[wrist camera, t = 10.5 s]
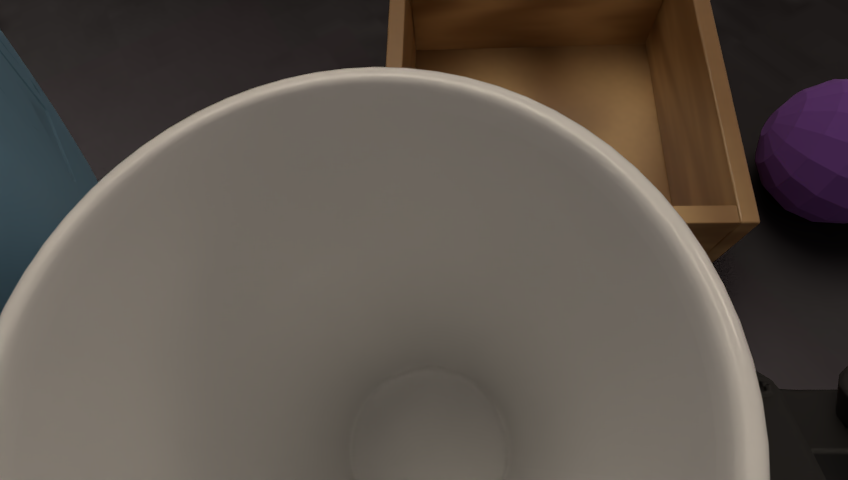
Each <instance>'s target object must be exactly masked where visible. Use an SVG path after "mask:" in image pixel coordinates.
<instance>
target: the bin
mask: <svg viewBox="0 0 848 480" xmlns="http://www.w3.org/2000/svg"><path fill="white" fill-rule="evenodd" d="M386 67H396V68H413V69H422V70H431V71H439V72H444V73H449V74H454V75H459V76H464V77H469V78H472V79H476V80H479V81H483V82H486V83H490V84H493V85H497V86H500V87H503V88H505V89H508V90H510V91H513V92H516V93H518V94H521V95H524V96H526V97H529V98H531V99H533V100H535V101H537V102H539V103H541V104H543V105H545V106H548V107H550V108H552V109H554V110H556V111H558V112H559V113H561V114H563V115H564V116H566V117H568V118H570V119H571V120H573V121H575V122H576V123H578V124H580V125H581V126H583V127H585V128H586V129H588V130H589V131H590V132H592V133H593V134H595V135H596V136H597V137H599V138H600V139H602V140H603V141H604V142H606V143H607V144H609V145H610V146H611V147H613V148H614V149H615V150H616V151H617V152H619V153H620V154H621V155H622V156H623V157H624V158H626V159H627V160H628V161H629V162H630V163H631V164H633V165H634V166H635V167H636V168H637V169H638V170H639V171H640V172H641V173H642V174H643V175H644V176H645V177H646V178H647V179H648V180H649V181H650V182H651V183H652V184H653V185H654V186H655V187H656V188H657V189H658V190H659V191H660V192H661V193H662V194H663V195H664V197H665V198H666V199H667V200H668V201H669V203H670V204H671V205H672V206H673V208H674V209H675V210H676V211H677V212H678V214H679V215H680V216H681V217H682V218H683V220H684V221H685V222H686V224H687V225H688V227H689V228H690V230H691V231H692V233H693V234H694V235H695V237H696V238H697V240H698V241H699V243H700V244H701V246H702V247H703V249H704V250H705V252H706V253H707V255H708V257H709V259H710V261H711V262H712V263H713V262H714V261H715V260H716V259H718V258H719V257H720V256H721V255H722V254H724V253H725V252H726V251H727V250H728V249H729V248H731V247H732V246H733V245H734V244H735V243H737V242H738V241H739V240H740V239H741V238H743V237H744V236H745V235H746V234H747V233H749V232H750V231H751V230H752V229H753V228H755V227H756V226H757V225H758V224H759V223H760V218H759V214H758V209H757V205H756V201H755V196H754V192H753V187H752V183H751V179H750V174H749V170H748V166H747V161H746V157H745V152H744V148H743V144H742V139H741V135H740V131H739V126H738V122H737V118H736V113H735V109H734V104H733V100H732V96H731V91H730V87H729V83H728V78H727V74H726V69H725V65H724V61H723V56H722V52H721V48H720V43H719V39H718V35H717V30H716V26H715V21H714V17H713V13H712V8H711V4H710V0H390V3H389V20H388V37H387V54H386Z"/></svg>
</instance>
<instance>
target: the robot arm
mask: <svg viewBox="0 0 848 480" xmlns="http://www.w3.org/2000/svg"><path fill="white" fill-rule="evenodd" d="M97 183H98V181H97V179H96V177H95V175H94V173H93V172H92V170H91V168H90V166H89V164H88V162H87V161H86V159H85V157H84V156H83V154H82V152H81V151H80V149H79V148H78V146H77V144H76V143H75V141H74V139H73V138H72V136H71V135H70V133H69V131H68V130H67V128H66V126H65V125H64V123H63V122H62V120H61V118H60V117H59V115H58V114H57V112H56V110H55V109H54V107H53V106H52V104H51V103H50V101H49V100H48V98H47V97H46V95H45V94H44V92H43V91H42V89H41V88H40V86H39V85H38V83H37V82H36V80H35V79H34V77H33V76H32V74H31V73H30V71H29V70H28V69H27V67H26V66H25V64H24V63H23V61H22V60H21V58H20V57H19V55H18V54H17V53H16V51H15V50H14V48H13V47H12V45H11V44H10V43H9V41H8V40H7V38H6V37H5V35H4V34H3V33H2V31H1V30H0V314H1V312H2V310H3V308H4V306H5V304H6V302H7V300H8V299H9V297H10V295H11V294H12V292H13V290H14V288H15V287H16V285H17V283H18V281H19V280H20V278H21V276H22V274H23V273H24V271H25V270H26V268H27V267H28V265H29V264H30V263H31V261H32V260H33V258H34V257H35V255H36V254H37V252H38V251H39V249H40V248H41V246H42V245H43V244H44V242H45V241H46V240H47V239H48V237H49V236H50V235H51V234H52V232H53V231H54V230H55V229H56V227H57V226H58V225H59V224H60V222H61V221H62V220H63V219H64V217H65V216H66V215H67V214H68V213H69V212H70V211H71V210H72V209H73V208H74V206H75V205H76V204H77V203H78V202H79V201H80V200H81V199H82V198H83V197H84V196H85V195H86V194H87V193H88V192H89V190H90V189H92V188H93V187H94V186H95V185H96V184H97ZM756 374H757V378H758V382H759V387H760V391H761V395H762V399H763V405H764V413H765V420H766V427H767V435H768V442H769V460H770V480H848V366H847V367H846V368H845V369H844V370H843V371H842V372H841V373H840V374H839V383H838V390H786V389H779V388H778V387H777V386H776V385H775V384H774V383H773V381H772V380H770V379H769V378H767V377H765V376H764V375H762V374H760V373H758V372H757V371H756Z"/></svg>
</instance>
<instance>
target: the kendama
mask: <svg viewBox="0 0 848 480" xmlns="http://www.w3.org/2000/svg"><path fill="white" fill-rule="evenodd" d="M755 163H756V166H757V170H758V173H759V177H760V181H761V184H762V185H763V186H764V188H765V189H766V190H767V191H768V192H769V193H770V194H771V195H772V196H773V197H774V199H775V200H776V201H777V202H778V203H779V204H780V205H781V206H782V207H783V208H784V209H785V210H787V211H789V212H791V213H793V214H796V215H798V216H800V217H802V218H805V219H807V220H809V221H811V222H826V223H843V224H844V223H848V79H833V80H830V81H827V82H824V83H822V84H819V85H816V86H813V87H810V88H807V89H804V90H802V91H800V92H798V93H797V94H795V95H794V96H792V97H791V98H790V99H789V100H788V101H787V102H785V103H784V104H783V105H782V106H781V107H779V108H778V109H777V110H776V111H775V112H774V113H773V114H772V115H771V116H770V117H769V118H768V120H767V121H766V123H765V124H764V126H763V128H762V131H761V134H760V138H759V142H758V146H757V150H756V155H755Z"/></svg>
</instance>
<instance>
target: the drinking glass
mask: <svg viewBox="0 0 848 480" xmlns="http://www.w3.org/2000/svg"><path fill="white" fill-rule="evenodd" d="M0 480H770V460H769V442H768V435H767V427H766V420H765V413H764V405H763V399H762V395H761V391H760V387H759V382H758V378H757V374H756V370H755V365H754V361H753V358H752V355H751V352H750V349H749V346H748V343H747V340H746V337H745V334H744V331H743V328H742V325H741V322H740V320H739V317H738V315H737V313H736V311H735V308H734V306H733V304H732V302H731V299H730V297H729V295H728V293H727V290H726V288H725V286H724V284H723V282H722V280H721V279H720V277H719V275H718V273H717V271H716V270H715V268H714V266H713V264H712V262H711V261H710V259H709V257H708V255H707V253H706V252H705V250H704V249H703V247H702V246H701V244H700V243H699V241H698V240H697V238H696V237H695V235H694V234H693V233H692V231H691V230H690V228H689V227H688V225H687V224H686V222H685V221H684V220H683V218H682V217H681V216H680V215H679V214H678V212H677V211H676V210H675V209H674V208H673V206H672V205H671V204H670V203H669V201H668V200H667V199H666V198H665V197H664V195H663V194H662V193H661V192H660V191H659V190H658V189H657V188H656V187H655V186H654V185H653V184H652V183H651V182H650V181H649V180H648V179H647V178H646V177H645V176H644V175H643V174H642V173H641V172H640V171H639V170H638V169H637V168H636V167H635V166H634V165H633V164H631V163H630V162H629V161H628V160H627V159H626V158H624V157H623V156H622V155H621V154H620V153H619V152H617V151H616V150H615V149H614V148H613V147H611V146H610V145H609V144H607V143H606V142H604V141H603V140H602V139H600V138H599V137H597V136H596V135H595V134H593V133H592V132H590V131H589V130H588V129H586V128H585V127H583V126H581V125H580V124H578V123H576V122H575V121H573V120H571V119H570V118H568V117H566V116H564V115H563V114H561V113H559V112H558V111H556V110H554V109H552V108H550V107H548V106H545V105H543V104H541V103H539V102H537V101H535V100H533V99H531V98H529V97H526V96H524V95H521V94H518V93H516V92H513V91H510V90H508V89H505V88H503V87H500V86H497V85H493V84H490V83H486V82H483V81H479V80H476V79H472V78H469V77H464V76H459V75H454V74H449V73H444V72H439V71H431V70H422V69H413V68H396V67H364V68H345V69H337V70H329V71H322V72H314V73H310V74H305V75H300V76H295V77H291V78H286V79H282V80H279V81H275V82H272V83H269V84H265V85H262V86H258V87H255V88H252V89H250V90H247V91H244V92H242V93H239V94H236V95H234V96H231V97H228V98H226V99H224V100H222V101H219V102H217V103H215V104H213V105H211V106H209V107H207V108H204V109H202V110H200V111H198V112H196V113H194V114H193V115H191V116H189V117H187V118H185V119H184V120H182V121H180V122H178V123H177V124H175V125H173V126H171V127H170V128H168V129H166V130H165V131H163V132H162V133H160V134H159V135H157V136H156V137H155V138H153V139H152V140H150V141H149V142H147V143H146V144H144V145H143V146H141V147H140V148H139V149H137V150H136V151H135V152H133V153H132V154H131V155H130V156H128V157H127V158H126V159H125V160H123V161H122V162H121V163H119V164H118V165H117V166H116V167H114V168H113V169H112V170H111V171H110V172H109V173H108V174H107V175H106V176H105V177H104V178H102V179H101V180H100V181H99V182H98V183H97V184H96V185H95V186H94V187H93V188H92V189H90V190H89V192H88V193H87V194H86V195H85V196H84V197H83V198H82V199H81V200H80V201H79V202H78V203H77V204H76V205H75V206H74V208H73V209H72V210H71V211H70V212H69V213H68V214H67V215H66V216H65V217H64V219H63V220H62V221H61V222H60V224H59V225H58V226H57V227H56V229H55V230H54V231H53V232H52V234H51V235H50V236H49V237H48V239H47V240H46V241H45V242H44V244H43V245H42V246H41V248H40V249H39V251H38V252H37V254H36V255H35V257H34V258H33V260H32V261H31V263H30V264H29V265H28V267H27V268H26V270H25V271H24V273H23V274H22V276H21V278H20V280H19V281H18V283H17V285H16V287H15V288H14V290H13V292H12V294H11V295H10V297H9V299H8V300H7V302H6V304H5V306H4V308H3V310H2V312H1V314H0Z"/></svg>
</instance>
